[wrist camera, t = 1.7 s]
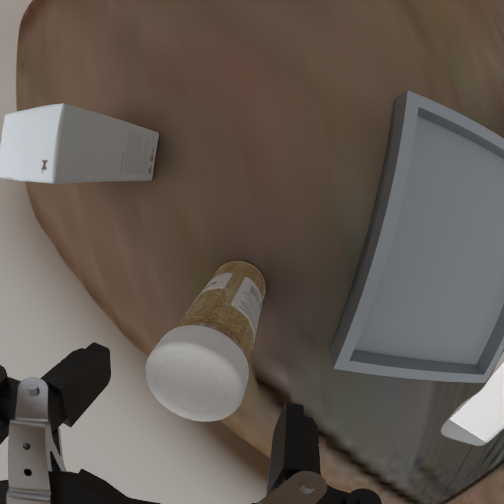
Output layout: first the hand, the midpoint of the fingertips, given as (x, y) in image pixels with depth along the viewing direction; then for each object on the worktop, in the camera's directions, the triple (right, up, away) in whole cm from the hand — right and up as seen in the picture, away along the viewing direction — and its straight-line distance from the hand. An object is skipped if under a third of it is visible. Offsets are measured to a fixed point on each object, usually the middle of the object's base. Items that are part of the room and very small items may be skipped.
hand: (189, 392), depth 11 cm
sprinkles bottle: (+2, +3, +13) cm, 14 cm away
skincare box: (-8, +14, +12) cm, 20 cm away
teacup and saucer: (+41, -13, +13) cm, 45 cm away
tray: (+21, +6, +10) cm, 24 cm away
